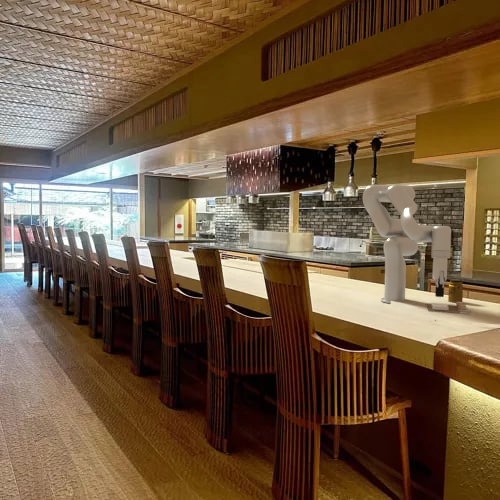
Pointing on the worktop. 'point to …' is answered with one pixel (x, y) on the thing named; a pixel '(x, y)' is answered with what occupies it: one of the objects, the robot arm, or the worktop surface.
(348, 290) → the worktop surface
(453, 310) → the board
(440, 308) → the tile
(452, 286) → the condiment
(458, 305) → the turner
